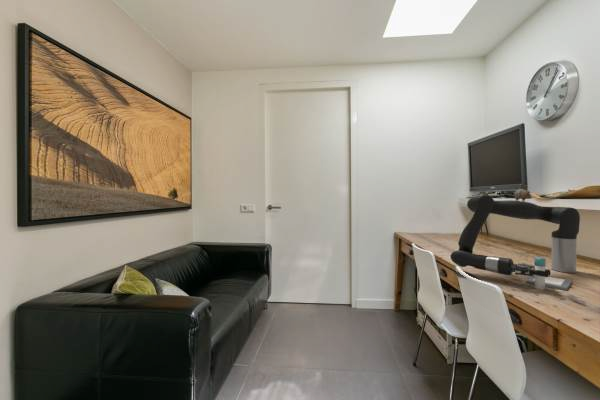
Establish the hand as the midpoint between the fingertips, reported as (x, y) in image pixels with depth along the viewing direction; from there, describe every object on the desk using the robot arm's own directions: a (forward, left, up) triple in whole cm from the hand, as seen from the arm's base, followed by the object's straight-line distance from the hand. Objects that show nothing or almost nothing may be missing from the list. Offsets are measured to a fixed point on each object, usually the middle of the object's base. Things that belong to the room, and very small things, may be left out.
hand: (549, 273), depth 109 cm
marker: (0, -3, -7) cm, 8 cm away
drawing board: (-13, -2, -7) cm, 15 cm away
